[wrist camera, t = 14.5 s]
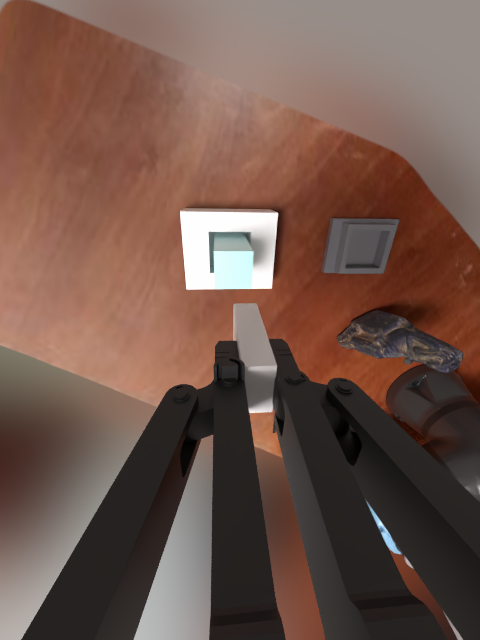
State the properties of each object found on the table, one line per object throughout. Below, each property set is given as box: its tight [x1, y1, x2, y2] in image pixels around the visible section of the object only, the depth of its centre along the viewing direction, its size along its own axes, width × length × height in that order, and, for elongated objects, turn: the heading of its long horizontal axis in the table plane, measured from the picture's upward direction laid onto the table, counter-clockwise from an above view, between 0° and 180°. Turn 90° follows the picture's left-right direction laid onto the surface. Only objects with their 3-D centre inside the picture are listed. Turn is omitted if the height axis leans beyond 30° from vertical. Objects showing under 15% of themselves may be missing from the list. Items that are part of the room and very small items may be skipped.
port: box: [180, 208, 278, 289], centre depth 36 cm, size 12×10×5 cm
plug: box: [214, 232, 254, 289], centre depth 32 cm, size 4×4×12 cm
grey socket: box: [321, 218, 399, 274], centre depth 38 cm, size 10×8×3 cm
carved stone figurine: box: [337, 310, 463, 373], centre depth 40 cm, size 6×12×15 cm, turn 118°
